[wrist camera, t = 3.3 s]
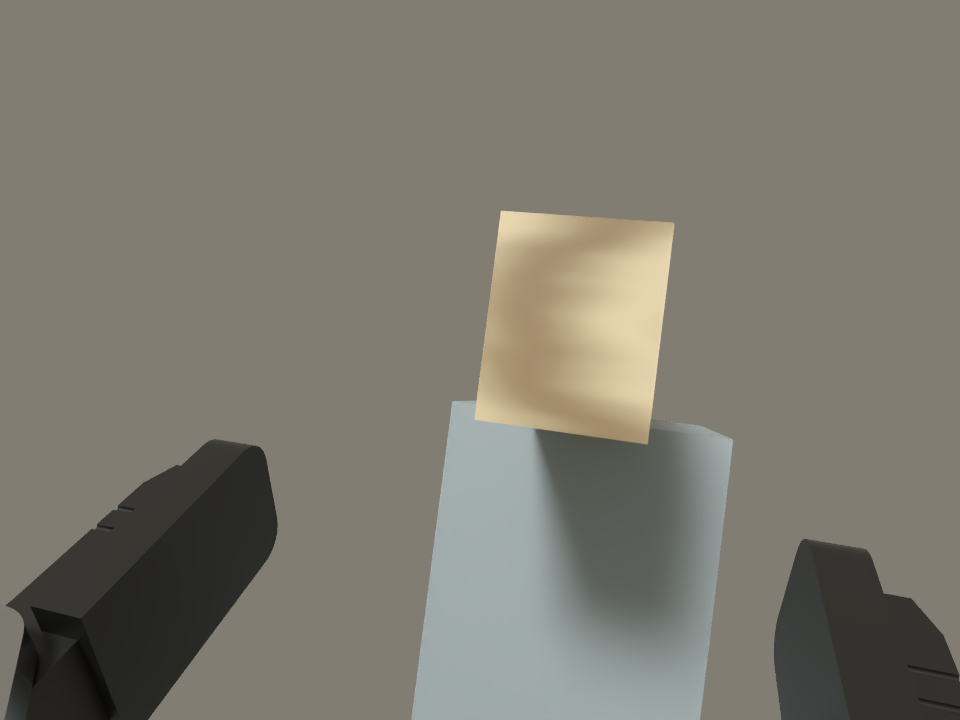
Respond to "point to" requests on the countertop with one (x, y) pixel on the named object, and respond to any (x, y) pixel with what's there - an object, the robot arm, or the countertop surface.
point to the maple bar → (575, 324)
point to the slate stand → (572, 573)
